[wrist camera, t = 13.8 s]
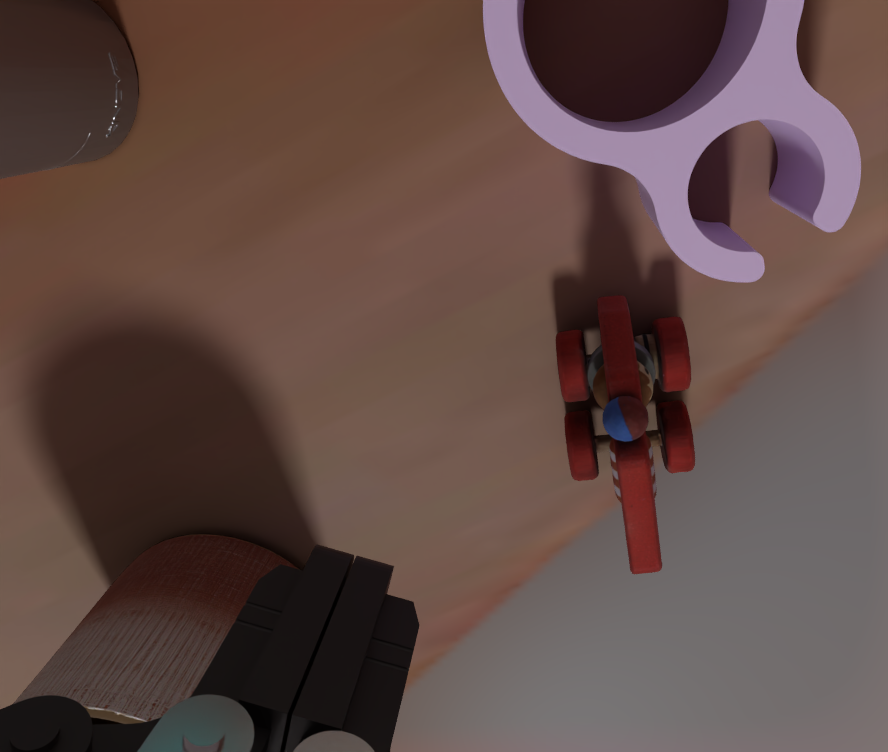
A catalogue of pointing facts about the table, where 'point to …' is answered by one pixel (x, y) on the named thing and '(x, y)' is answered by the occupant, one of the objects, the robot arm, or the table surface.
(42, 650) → the table surface
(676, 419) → the toy fire truck
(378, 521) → the table surface
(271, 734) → the robot arm
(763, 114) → the clip
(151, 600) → the planter
